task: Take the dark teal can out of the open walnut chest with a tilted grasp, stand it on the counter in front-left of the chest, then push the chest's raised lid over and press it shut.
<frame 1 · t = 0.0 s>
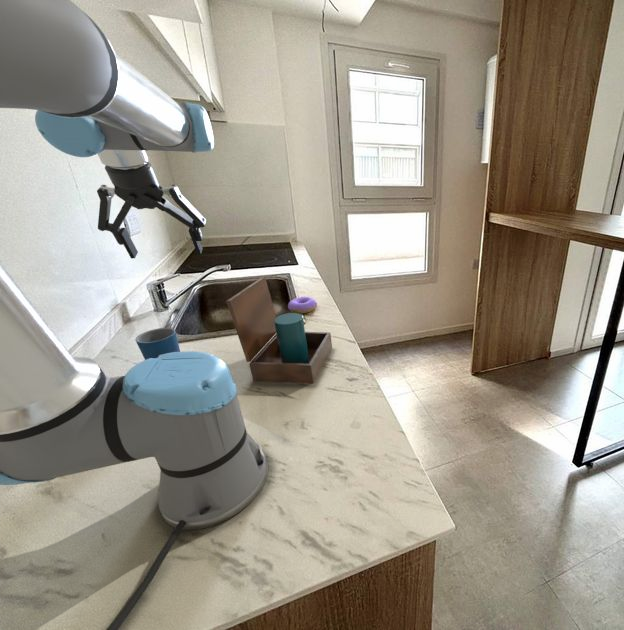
hand: (168, 253, 81), 28 cm above the counter, tool tilted 20°, fingers open, 13 cm apart
chest: (296, 365, 87), on the counter
lid: (256, 317, 81), point 14 cm above the counter, hinge at 95.0°
can: (296, 363, 86), point 1 cm above the counter, touching chest
cup: (176, 393, 76), on the counter
donut: (303, 310, 120), on the counter
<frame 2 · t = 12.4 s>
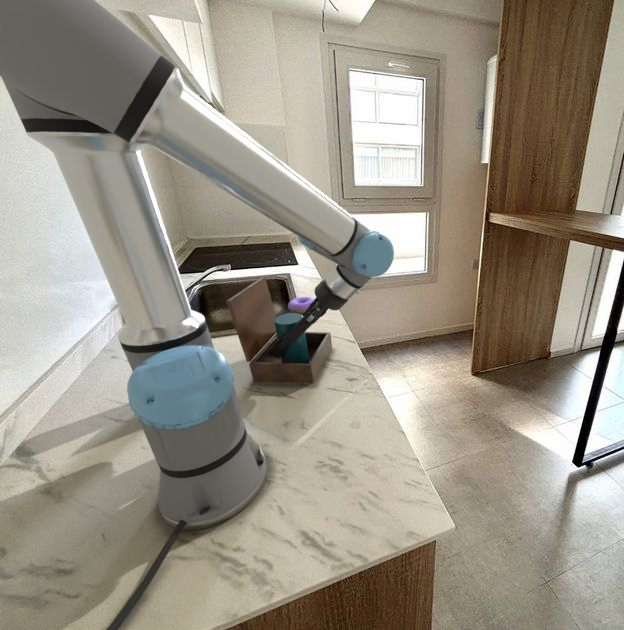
hand: (279, 346, 84), 6 cm above the counter, tool tilted 45°, fingers closed on can, 7 cm apart
can: (296, 363, 86), point 1 cm above the counter, touching chest, gripper
everything else where it was.
when the fingers open (5 cm above the counter, at t = 21.8 s): can stays where it is, on the counter.
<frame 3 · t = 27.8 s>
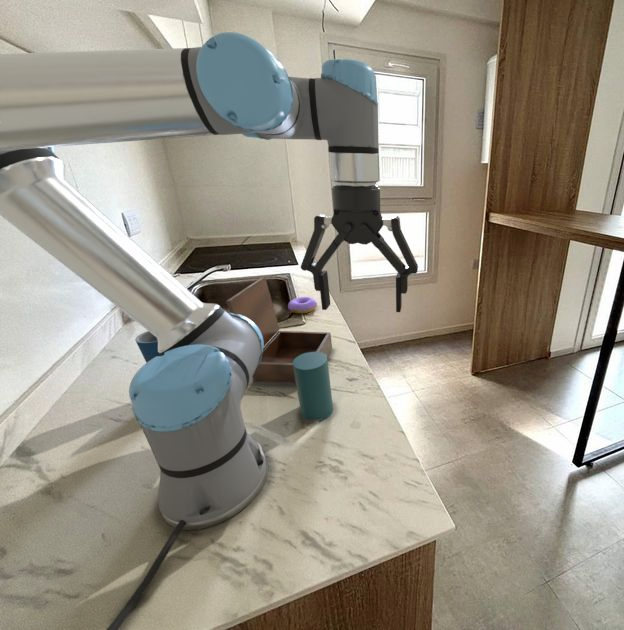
hand: (362, 308, 61), 25 cm above the counter, tool pointing down, fingers open, 13 cm apart
can: (317, 411, 71), on the counter
everything else where it was.
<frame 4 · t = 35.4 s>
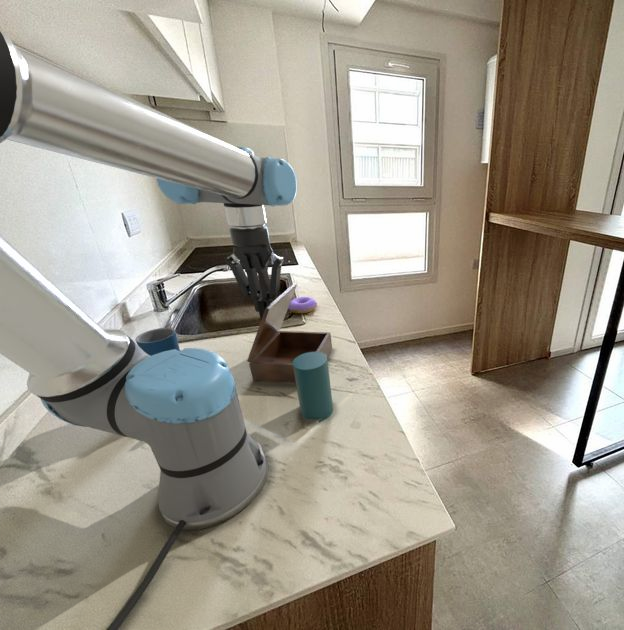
hand: (267, 323, 82), 12 cm above the counter, tool pointing down, fingers closed
lid: (273, 320, 81), point 13 cm above the counter, hinge at 63.4°, touching gripper
everything else where it was.
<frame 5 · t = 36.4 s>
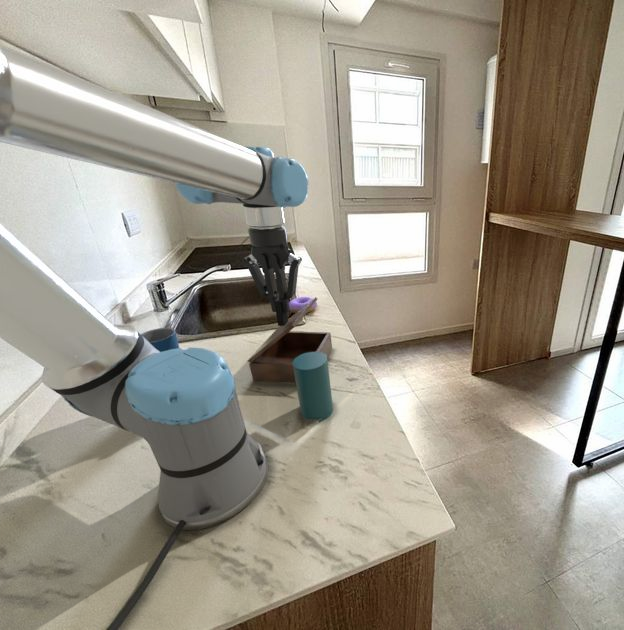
hand: (283, 323, 82), 12 cm above the counter, tool pointing down, fingers closed
lid: (284, 327, 82), point 11 cm above the counter, hinge at 39.3°
everything else where it was.
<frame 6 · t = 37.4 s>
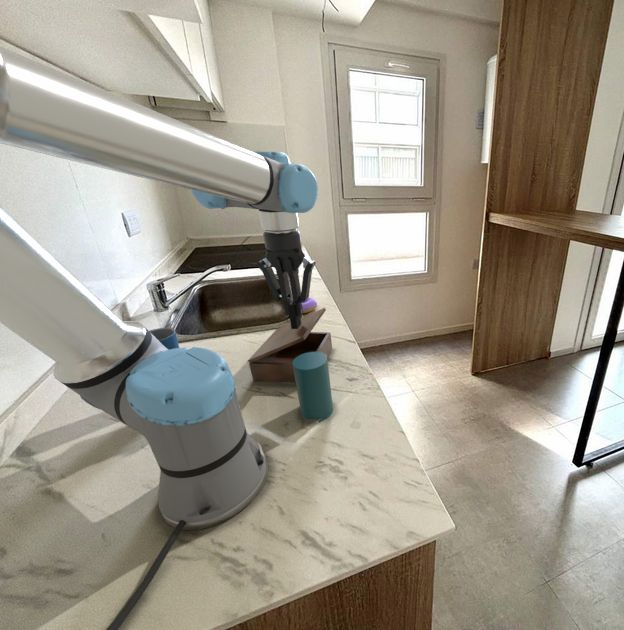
hand: (296, 326, 82), 12 cm above the counter, tool pointing down, fingers closed
lid: (289, 333, 83), point 10 cm above the counter, hinge at 25.7°, touching gripper
everything else where it was.
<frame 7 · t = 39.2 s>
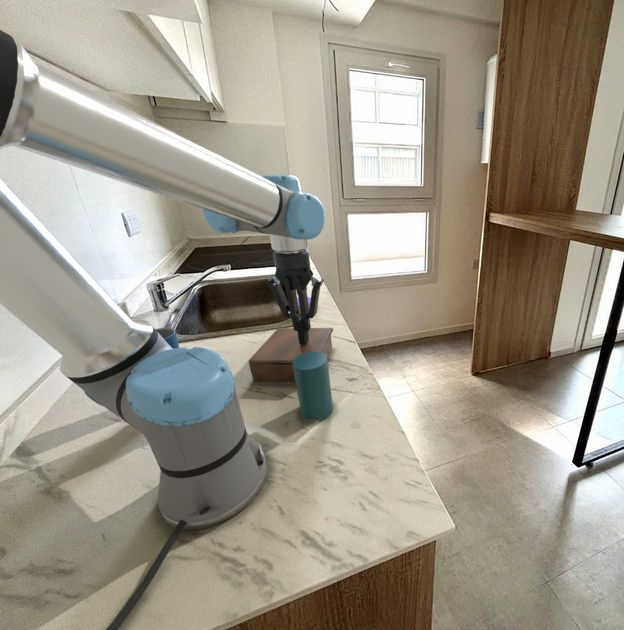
hand: (304, 341, 84), 7 cm above the counter, tool pointing down, fingers closed
lid: (294, 344, 84), point 7 cm above the counter, hinge at 2.2°, touching gripper
everything else where it was.
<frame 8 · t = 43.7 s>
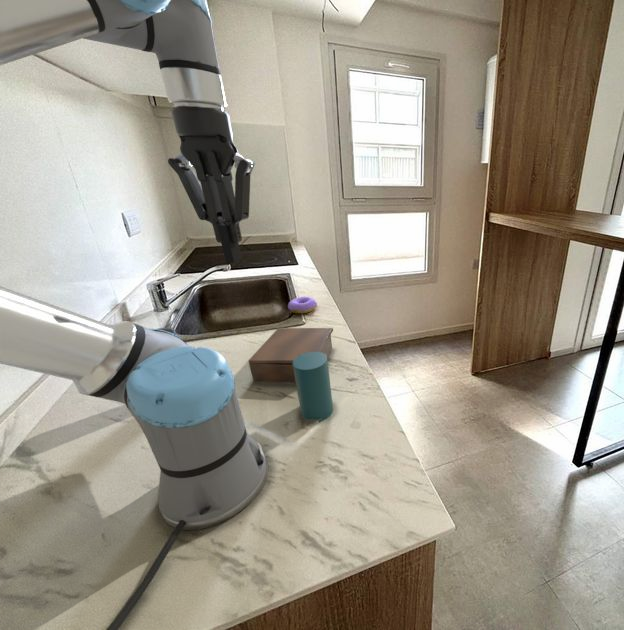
hand: (233, 260, 60), 32 cm above the counter, tool pointing down, fingers closed
lid: (294, 344, 84), point 7 cm above the counter, hinge at 2.2°
everything else where it was.
at the end: can inside the target area (0.1 cm from its centre), on the counter; can tilted 0°; lid at +2° (first picture: +95°) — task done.
